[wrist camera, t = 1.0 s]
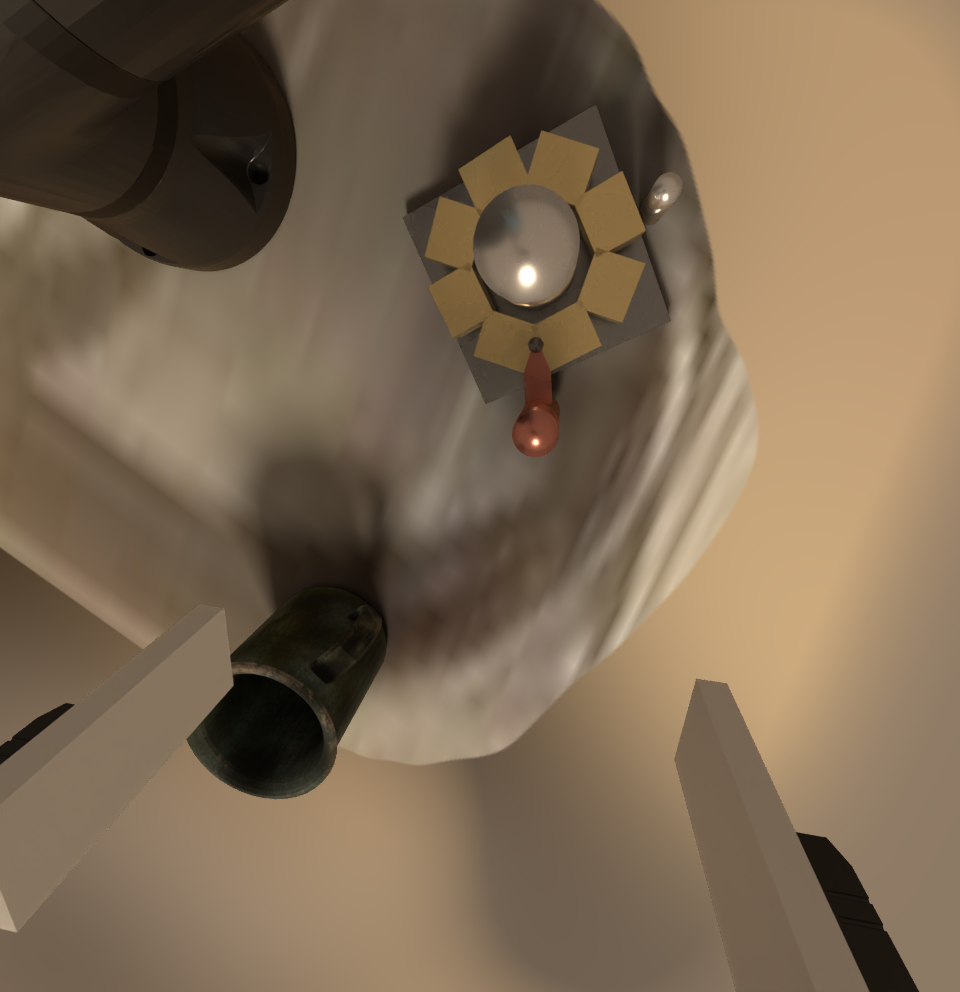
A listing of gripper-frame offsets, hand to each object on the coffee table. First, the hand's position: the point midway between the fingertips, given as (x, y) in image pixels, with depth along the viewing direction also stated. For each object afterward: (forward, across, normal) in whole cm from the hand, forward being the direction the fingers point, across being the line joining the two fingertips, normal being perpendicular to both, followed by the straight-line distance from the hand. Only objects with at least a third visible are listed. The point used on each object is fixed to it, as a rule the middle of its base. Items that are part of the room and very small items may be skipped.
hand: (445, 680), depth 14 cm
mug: (+25, -13, -17) cm, 33 cm away
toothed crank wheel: (+24, 0, +10) cm, 26 cm away
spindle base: (+25, 0, +12) cm, 28 cm away
